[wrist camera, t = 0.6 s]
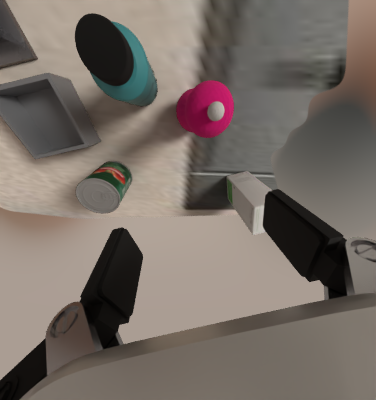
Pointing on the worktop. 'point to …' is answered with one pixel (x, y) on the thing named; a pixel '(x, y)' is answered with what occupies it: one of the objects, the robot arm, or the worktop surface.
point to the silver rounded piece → (2, 36)
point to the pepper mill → (206, 109)
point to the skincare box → (248, 199)
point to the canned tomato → (104, 187)
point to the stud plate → (13, 40)
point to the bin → (46, 115)
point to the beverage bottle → (115, 60)
